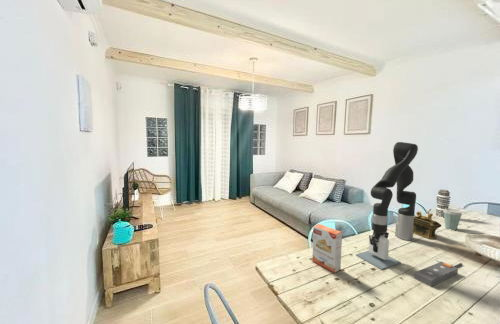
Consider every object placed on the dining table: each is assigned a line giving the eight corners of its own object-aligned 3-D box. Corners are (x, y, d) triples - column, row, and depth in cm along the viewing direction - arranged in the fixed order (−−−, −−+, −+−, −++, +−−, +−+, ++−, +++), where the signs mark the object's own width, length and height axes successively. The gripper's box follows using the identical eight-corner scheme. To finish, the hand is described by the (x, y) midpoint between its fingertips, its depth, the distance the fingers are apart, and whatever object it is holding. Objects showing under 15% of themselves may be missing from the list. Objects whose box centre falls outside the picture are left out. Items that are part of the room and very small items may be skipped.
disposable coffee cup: (456, 227, 170) (458, 209, 168) (463, 232, 160) (465, 213, 159) (439, 225, 174) (441, 207, 173) (445, 230, 164) (446, 211, 163)
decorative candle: (450, 220, 186) (452, 191, 184) (436, 218, 191) (438, 190, 189) (447, 216, 194) (449, 189, 192) (434, 215, 199) (436, 188, 197)
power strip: (413, 277, 106) (413, 270, 106) (452, 261, 121) (453, 255, 121) (430, 286, 100) (431, 279, 99) (470, 268, 115) (470, 261, 114)
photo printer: (367, 252, 127) (368, 232, 126) (371, 250, 129) (373, 230, 127) (384, 260, 118) (385, 239, 116) (389, 259, 119) (390, 237, 118)
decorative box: (441, 238, 150) (443, 211, 148) (432, 240, 147) (434, 212, 145) (411, 228, 169) (413, 203, 167) (402, 229, 165) (404, 204, 164)
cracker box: (311, 261, 120) (312, 225, 119) (318, 258, 124) (319, 223, 122) (334, 273, 109) (336, 234, 107) (341, 269, 113) (342, 231, 111)
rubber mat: (355, 255, 127) (355, 254, 127) (373, 249, 134) (373, 249, 134) (381, 269, 113) (381, 268, 113) (400, 263, 119) (400, 262, 119)
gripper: (381, 218, 128) (380, 245, 129) (365, 221, 122) (363, 250, 123) (394, 222, 121) (392, 251, 122) (377, 226, 115) (375, 256, 117)
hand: (378, 250), depth 123 cm, fingers closed on photo printer, 4 cm apart
